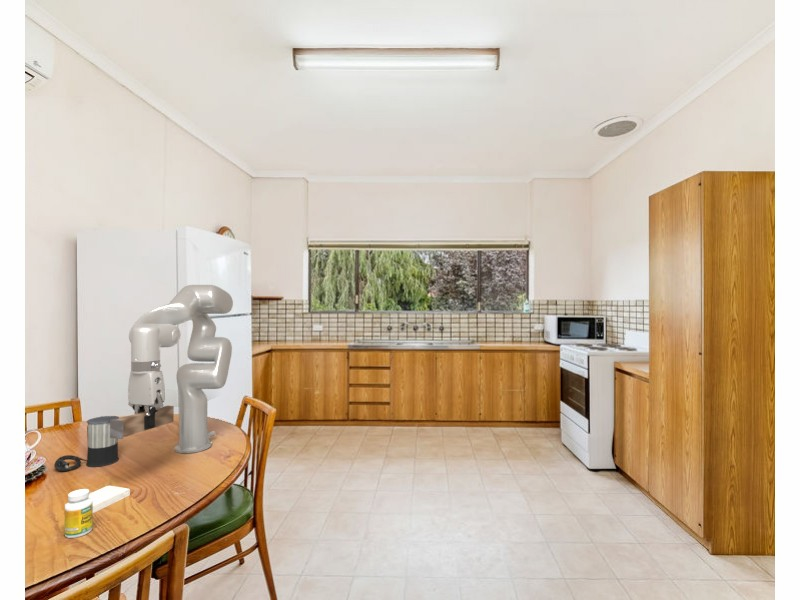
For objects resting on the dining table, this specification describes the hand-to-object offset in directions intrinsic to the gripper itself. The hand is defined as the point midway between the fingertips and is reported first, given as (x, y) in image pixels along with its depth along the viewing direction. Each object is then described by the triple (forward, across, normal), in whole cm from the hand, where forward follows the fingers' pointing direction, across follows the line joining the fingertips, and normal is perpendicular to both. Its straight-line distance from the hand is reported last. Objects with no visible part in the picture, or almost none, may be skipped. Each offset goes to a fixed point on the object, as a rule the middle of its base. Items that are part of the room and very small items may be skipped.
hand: (145, 427), depth 128 cm
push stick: (+1, 0, 0) cm, 1 cm away
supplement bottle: (+17, -9, +26) cm, 32 cm away
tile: (+16, +2, +7) cm, 18 cm away
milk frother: (+17, +32, -6) cm, 36 cm away
